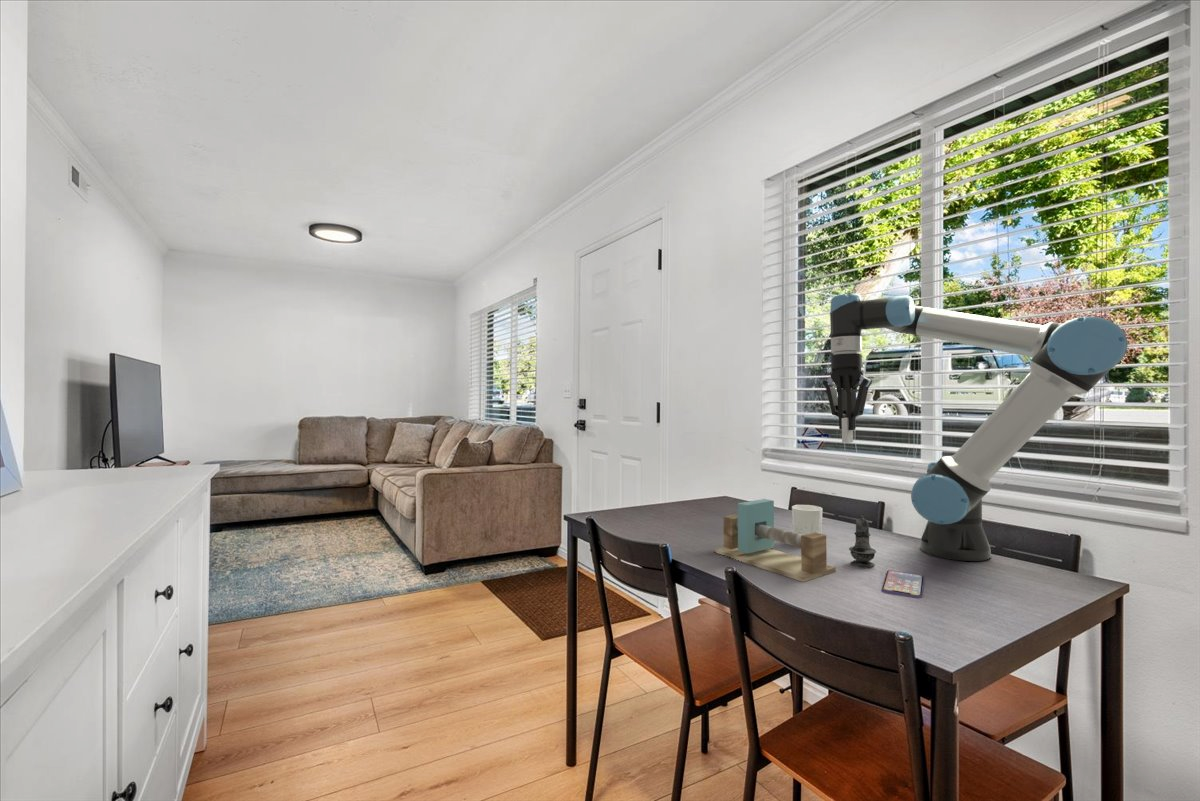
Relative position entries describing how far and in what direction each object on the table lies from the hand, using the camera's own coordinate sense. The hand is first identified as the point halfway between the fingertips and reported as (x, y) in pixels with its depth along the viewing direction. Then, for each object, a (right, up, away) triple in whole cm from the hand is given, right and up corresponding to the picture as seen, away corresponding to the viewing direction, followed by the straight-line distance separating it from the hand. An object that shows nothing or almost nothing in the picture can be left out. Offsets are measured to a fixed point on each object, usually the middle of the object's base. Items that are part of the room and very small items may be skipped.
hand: (847, 442), depth 144 cm
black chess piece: (-2, -29, -13) cm, 32 cm away
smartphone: (0, -29, -27) cm, 40 cm away
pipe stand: (-23, -29, -10) cm, 38 cm away
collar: (-26, -27, -6) cm, 38 cm away
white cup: (-9, -29, +5) cm, 30 cm away
